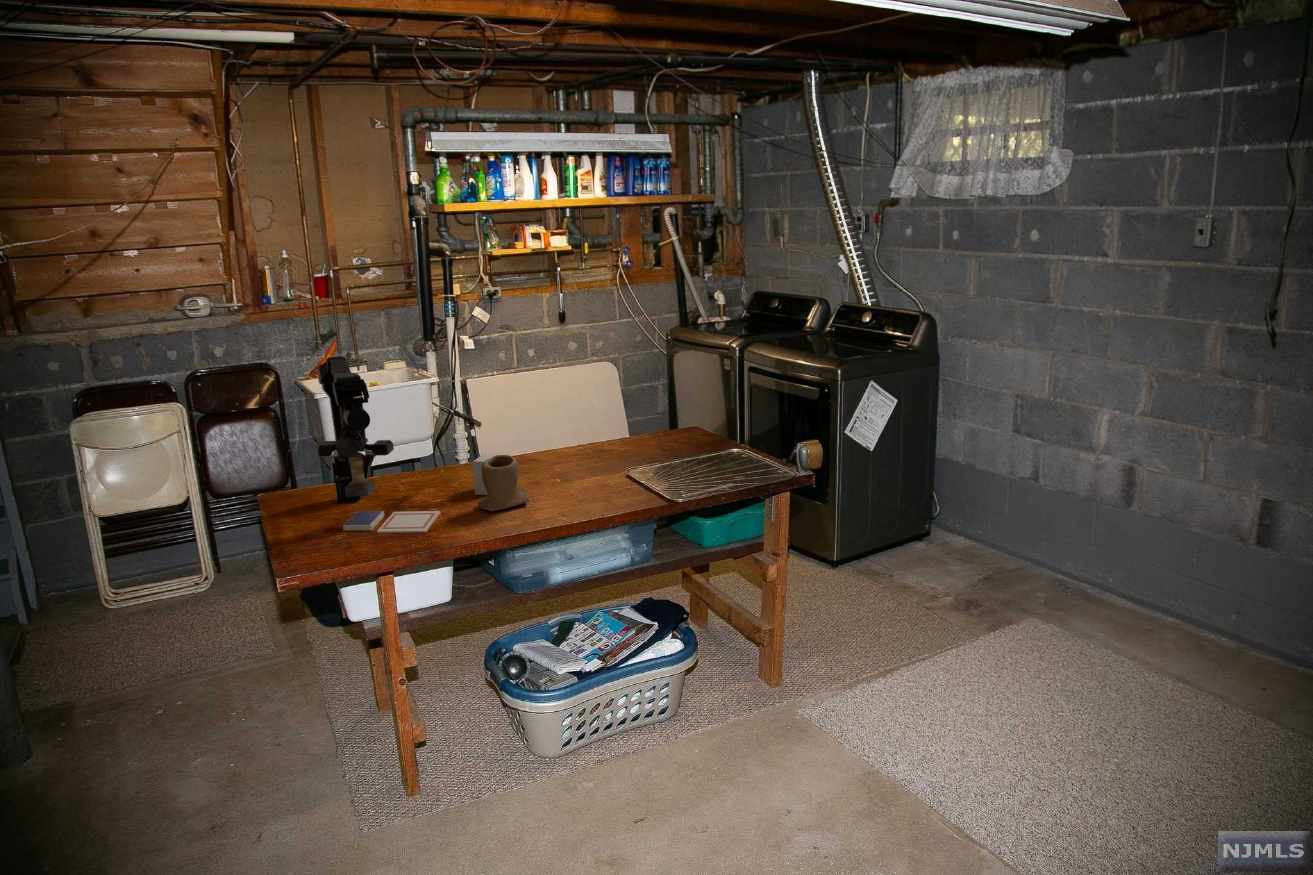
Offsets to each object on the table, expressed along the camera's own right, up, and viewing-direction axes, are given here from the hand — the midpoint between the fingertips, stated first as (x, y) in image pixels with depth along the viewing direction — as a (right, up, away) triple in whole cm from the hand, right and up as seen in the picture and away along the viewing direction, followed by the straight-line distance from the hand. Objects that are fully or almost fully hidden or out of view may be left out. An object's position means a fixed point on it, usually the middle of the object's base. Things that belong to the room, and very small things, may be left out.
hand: (359, 478), depth 245 cm
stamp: (0, -4, +1) cm, 4 cm away
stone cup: (+37, -9, +14) cm, 41 cm away
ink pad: (0, -12, +3) cm, 13 cm away
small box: (+30, -5, +28) cm, 41 cm away
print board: (+13, -12, +3) cm, 18 cm away
